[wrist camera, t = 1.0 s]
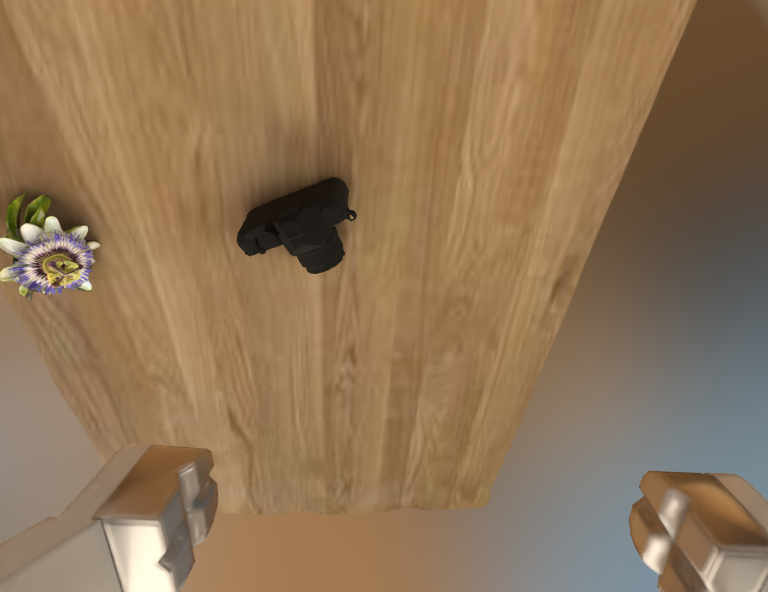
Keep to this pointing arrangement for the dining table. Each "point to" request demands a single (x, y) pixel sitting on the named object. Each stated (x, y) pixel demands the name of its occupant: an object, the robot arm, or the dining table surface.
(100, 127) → the dining table surface
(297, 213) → the film camera
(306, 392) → the dining table surface
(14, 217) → the passion flower
